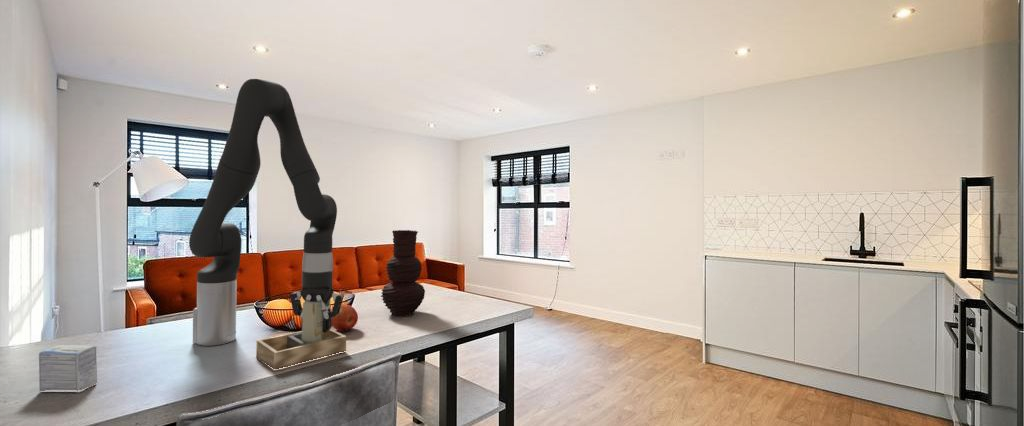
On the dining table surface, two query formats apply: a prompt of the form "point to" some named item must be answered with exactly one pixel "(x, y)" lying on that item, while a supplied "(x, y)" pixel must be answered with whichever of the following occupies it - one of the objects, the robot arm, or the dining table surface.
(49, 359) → the grey striped block
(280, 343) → the walled box
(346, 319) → the apple
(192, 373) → the dining table surface
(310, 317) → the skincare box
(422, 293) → the vase
